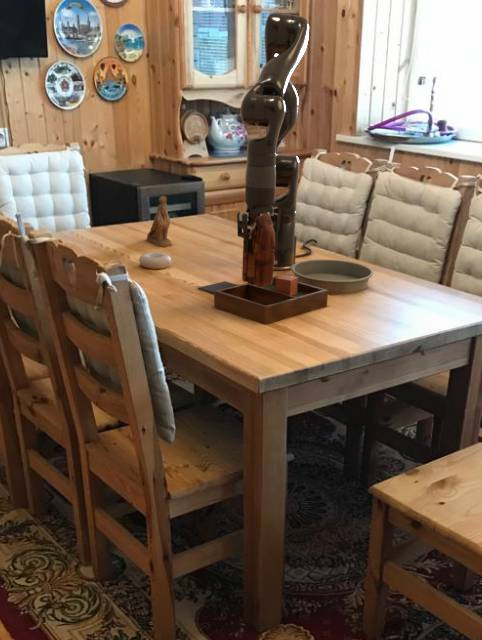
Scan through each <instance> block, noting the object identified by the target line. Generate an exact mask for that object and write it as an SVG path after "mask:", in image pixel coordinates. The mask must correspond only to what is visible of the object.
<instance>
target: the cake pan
mask: <svg viewBox="0 0 482 640" xmlns="http://www.w3.org/2000/svg"><path fill="white" fill-rule="evenodd" d="M290 270H291V272H292V273H293V274H294V277H298V282H301V283H305V284H308V285H312V286H315V287H319V288H323V289H326V290H328V295H329V294H330V295H348V294H354V293H355V294H356V293H359V292H362V291H364V290H365V289H366V288H367V287H368V284H369V281H370V279H371V278H372V277H373V276H374V270H373V269H371V268H370V267H368V266H367V265H365V264H364V265H363V264H361V263H357V262H353V261H348V260H341V259H340V260H339V259H308V260H302V261H299V262H295V264H294V265H293V266H292V267H291V269H290Z"/></svg>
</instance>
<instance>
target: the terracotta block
mask: <svg viewBox="0 0 482 640" xmlns="http://www.w3.org/2000/svg"><path fill="white" fill-rule="evenodd" d="M297 285H298V277H295V275H294V276H293V275H287V274H282V275H279V277H277V278H276V291H277V292H281V293H284V294H288V295H291V296H293V295H295V294H297Z"/></svg>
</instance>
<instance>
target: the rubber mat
mask: <svg viewBox="0 0 482 640" xmlns="http://www.w3.org/2000/svg"><path fill="white" fill-rule="evenodd" d="M237 285H238V284H236V283H232V282H229V281H227V280H225V281H221V282H216V283H211V284H208V285H204V286H199V287H197V290H199V291H203V292H206V293H210V294H212V295H214V291H217V290H221V289H225V288H229V287H233V286H237Z"/></svg>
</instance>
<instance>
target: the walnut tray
mask: <svg viewBox="0 0 482 640" xmlns="http://www.w3.org/2000/svg"><path fill="white" fill-rule="evenodd" d="M277 277H280V275H273V281H272V285H270V286H265V287H257V286H256V285H251V284H249V283H248V282H244V283H242V284H236V285H237V286H233V287H229V288H225V289H221V290H217V291H214V294H213V308H215V309H218V310H221V311H224V312H227V313H229V314H233V315H235V316H238V317H241V318H244V319H248V320H252V321H254V322H256V323H257V322H258V323H261V324H263V325H267V324H268V325H269V324H271V323H275V322H279V321H281V320H285V319H288V318H292V317H294V316H299V315H301V314H305V313H308V312H312V311H315V310H318V309H322V308H325V307H328V298H329V294H328V290H326V289H323V288H319V287H315V286H312V285H308V284H305V283H301V282H298V285H297V294H295V295H293V296H291V295H288V294H284V293H281V292H277V291H276V278H277Z"/></svg>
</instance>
